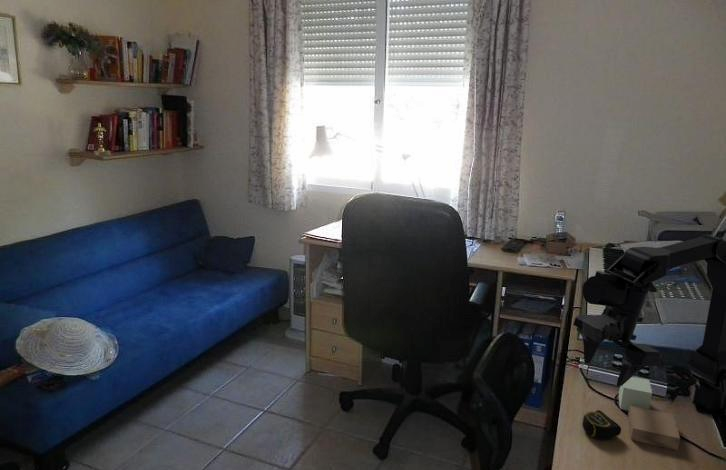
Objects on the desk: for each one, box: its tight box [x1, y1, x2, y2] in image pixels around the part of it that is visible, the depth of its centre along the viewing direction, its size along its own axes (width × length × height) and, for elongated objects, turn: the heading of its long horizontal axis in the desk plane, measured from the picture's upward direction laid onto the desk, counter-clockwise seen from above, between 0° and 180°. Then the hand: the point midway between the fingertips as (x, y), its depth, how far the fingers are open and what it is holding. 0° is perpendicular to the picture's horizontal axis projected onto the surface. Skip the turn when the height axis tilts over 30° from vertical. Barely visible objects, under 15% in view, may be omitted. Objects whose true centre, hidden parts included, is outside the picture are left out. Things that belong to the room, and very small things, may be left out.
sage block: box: [618, 376, 653, 412], centre depth 126 cm, size 6×6×6 cm
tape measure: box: [581, 409, 622, 441], centre depth 117 cm, size 7×7×4 cm
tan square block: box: [627, 405, 681, 451], centre depth 117 cm, size 9×9×3 cm
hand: (602, 374), depth 112 cm, fingers open, 9 cm apart
